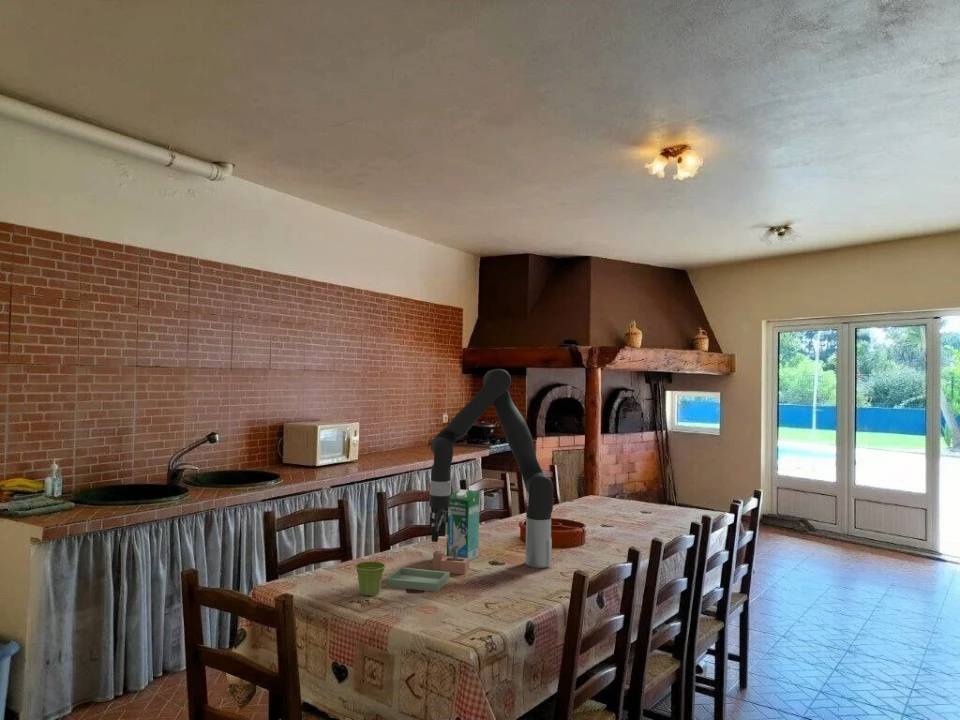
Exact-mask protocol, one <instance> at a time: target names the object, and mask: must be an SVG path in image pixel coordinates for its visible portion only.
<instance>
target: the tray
mask: <svg viewBox="0 0 960 720" xmlns="http://www.w3.org/2000/svg"><path fill="white" fill-rule="evenodd" d="M450 577H451V573H450V572H442V571H437V570H433V569H432V570H431V569H421V568H414V567H413V568H411V567H401V566H400V567H398V568H397V569H396V570H395V571H393V572H392V573H390V574H389V575H388V576H386V577H385V578H384V586H385V587H391V588H397V589H407V590H416V591H417V590H418V591H426V592H427V591H428V592H434V593H435V592H436V593H437V592H439V591H440V590H441V589H442V588H443V587H444V586H446V584H447V583H448V582H449V581H450V580H451V579H450Z"/></svg>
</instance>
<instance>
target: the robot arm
mask: <svg viewBox="0 0 960 720" xmlns="http://www.w3.org/2000/svg"><path fill="white" fill-rule="evenodd" d="M511 384H512V378H511V375H510V373H509V372H508V371H507V370H506V369H503V368H494V369H491V370H489V371H487V372H486V373H485V374H484V376H483V378H482V387H481V389H480V391H479V392H478V393H477V394H475V396H474V397H473V398H471V400H470V401H469V402H468V403H467V404H465V405H464V406H463V407H462V408H461V409H460V410H459V411H458V412H457V413H456V415H455V416H454V417H453V418H452V420H451V421H450V422H449V423H448V424H447V425H446V427H444V428H443V429H441V431H440V432H439V433H438V434H436V435H435V437H434V438H433V439H432V441H431V443H430V451H431V452H432V453H433V464H432V466H431V470H430V482H429V483H430V485H429V499H428V500H429V501H428V502H429V503H428V505H429V507H430V508H433V512H430V513H429V528H428V529H429V531H431V542H432V543H437V542H439V537H445V536H446V532H447V523H448V507H449V506H450V497H451V495H452V494H451V493H452V490H451V489H452V486H451V485H452V484H451V475H452V473H451V470H452V463H453V457H454V444H455V443H456V442H457V441H458V440H460V439H462V438H463V437H465V435H466V434H467V433H468V432H469V430H470V429H471V428H472V427H473V426H474V425H475V423H476V422H477V420H479V418H480V417H481V416H482V415H483V414H484V413H485V412H486V410H487V409H488V408H489V407H490V406H491V405H493V408H494V409H495V412H496V415H497V418H498V422H499V423H500V427H501V429H502V431H503V434H504V437H505V439H506V441H507V444H508V446H509V448H510V451H511V453H512V455H513V457H514V458H515V461H516V463H517V465H518V467H519V470H520V473H521V476H522V480H523V484H524V487H525V490H526V492H527V493H528V502H527V503H528V505H527V509H526V513H525V514H526V515H525V516H526V517H525V522H526V523H525V524H526V525H525V563H524V564H525V565H526V566H527V567H530V568H539V569H540V568H541V569H543V568H550V567H551V564H552V549H553V548H552V544H553V542H552V541H553V539H552V513H553V510H554V508H553V507H554V492H555V491H554V483H553V481H552V479H550V478H549V477H548V476H546V475H545V473H544V471H543V469H542V468H541V466H540V464H539V461H538V459H537V456H536V451H535V445H534V444H535V443H534V440H533V436H532V434H531V431H530V429H529V426H528V424H527V422H526V420H525V418H524V416H523V415H522V414H521V412H520V411H519V409H518V408H517V407H516V405H515V403H514V402H513V400H512V397H511V393H510V391H509V389H510V386H511Z"/></svg>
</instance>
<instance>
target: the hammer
mask: <svg viewBox="0 0 960 720" xmlns="http://www.w3.org/2000/svg"><path fill="white" fill-rule="evenodd" d="M458 550H459V546H455V547H453V548H452V553H453V561H457V552H458Z"/></svg>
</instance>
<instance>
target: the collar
mask: <svg viewBox="0 0 960 720" xmlns="http://www.w3.org/2000/svg"><path fill="white" fill-rule="evenodd" d="M432 553H433V554H432V571H442V572H450V574H456V575H466V574H467V573H468V572H469V571H470V561H469V558H458V557H457V561H453V557H448V556H447V555H446V556H445V551H443V550H441V551H440V550H435V551H434V552H432Z"/></svg>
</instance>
